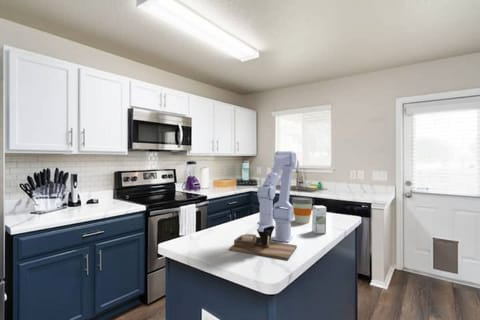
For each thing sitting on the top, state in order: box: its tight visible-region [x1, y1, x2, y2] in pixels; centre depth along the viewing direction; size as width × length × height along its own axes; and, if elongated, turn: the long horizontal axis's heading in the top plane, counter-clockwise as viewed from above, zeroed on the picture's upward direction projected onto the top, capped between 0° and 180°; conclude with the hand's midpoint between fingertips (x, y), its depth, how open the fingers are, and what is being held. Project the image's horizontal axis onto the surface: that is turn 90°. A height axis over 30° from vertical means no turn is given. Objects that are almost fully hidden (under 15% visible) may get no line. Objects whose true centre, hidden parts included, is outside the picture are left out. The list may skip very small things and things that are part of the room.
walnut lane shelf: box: [229, 234, 298, 261], centre depth 115 cm, size 16×26×4 cm, turn 66°
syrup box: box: [311, 205, 327, 235], centre depth 141 cm, size 6×6×14 cm
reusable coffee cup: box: [291, 196, 313, 224], centre depth 165 cm, size 13×13×15 cm
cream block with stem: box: [242, 232, 269, 248], centre depth 117 cm, size 5×12×5 cm, turn 66°
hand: (265, 243), depth 115 cm, fingers open, 4 cm apart
